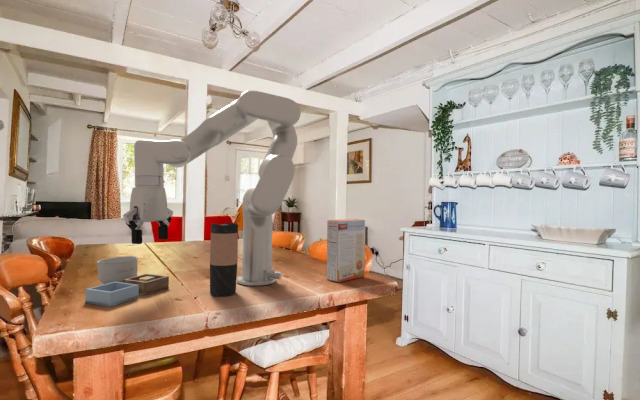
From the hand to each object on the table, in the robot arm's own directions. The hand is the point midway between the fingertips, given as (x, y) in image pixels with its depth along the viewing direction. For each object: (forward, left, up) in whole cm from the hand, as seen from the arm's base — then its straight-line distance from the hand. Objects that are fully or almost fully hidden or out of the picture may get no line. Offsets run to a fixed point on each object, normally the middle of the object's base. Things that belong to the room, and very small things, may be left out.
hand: (150, 241), depth 100 cm
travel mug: (-21, -5, -14) cm, 26 cm away
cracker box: (-49, -38, -14) cm, 64 cm away
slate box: (+1, +12, -14) cm, 18 cm away
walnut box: (+1, +1, -14) cm, 14 cm away
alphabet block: (+1, 0, -14) cm, 14 cm away
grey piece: (+14, -2, -14) cm, 20 cm away
